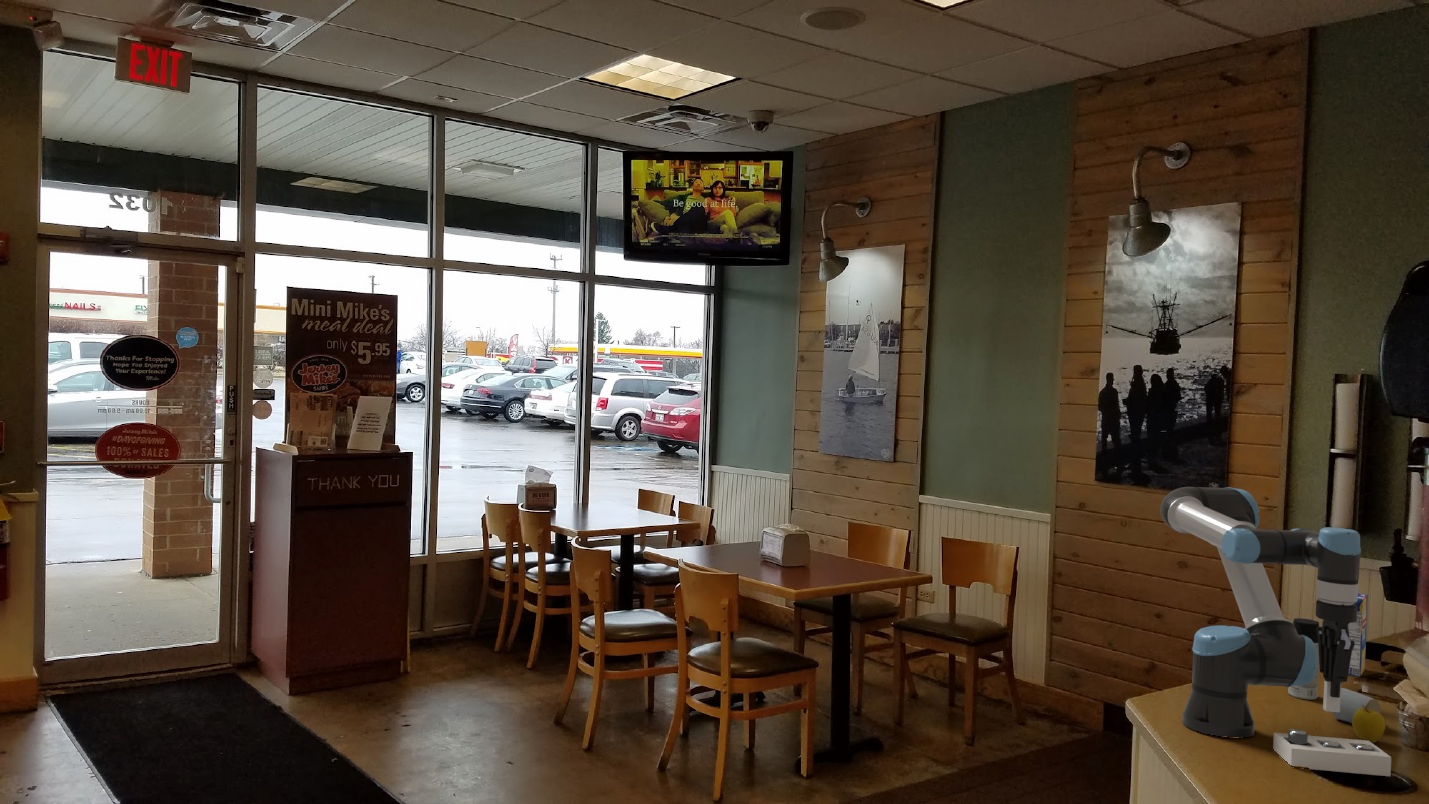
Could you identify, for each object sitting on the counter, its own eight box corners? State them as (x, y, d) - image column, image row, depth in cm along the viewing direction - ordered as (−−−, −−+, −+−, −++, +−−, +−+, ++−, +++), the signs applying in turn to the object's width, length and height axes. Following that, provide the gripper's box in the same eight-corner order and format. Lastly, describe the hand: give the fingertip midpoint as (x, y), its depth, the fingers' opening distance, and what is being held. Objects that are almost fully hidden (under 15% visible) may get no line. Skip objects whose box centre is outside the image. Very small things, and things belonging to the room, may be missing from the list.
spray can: (1318, 695, 262) (1321, 620, 262) (1317, 702, 256) (1320, 625, 256) (1288, 691, 266) (1291, 616, 265) (1287, 697, 260) (1290, 621, 260)
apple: (1348, 734, 232) (1349, 700, 231) (1380, 739, 229) (1382, 704, 229) (1354, 743, 226) (1355, 708, 226) (1387, 748, 223) (1389, 712, 223)
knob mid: (1324, 764, 211) (1325, 744, 211) (1317, 757, 214) (1318, 738, 214) (1343, 765, 210) (1343, 746, 210) (1335, 759, 214) (1336, 740, 214)
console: (1291, 767, 209) (1291, 748, 209) (1273, 750, 219) (1273, 732, 219) (1390, 776, 206) (1391, 757, 206) (1367, 759, 216) (1368, 740, 216)
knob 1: (1291, 752, 212) (1292, 732, 212) (1285, 746, 216) (1285, 727, 216) (1309, 753, 211) (1310, 734, 211) (1303, 747, 215) (1303, 728, 215)
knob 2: (1358, 767, 210) (1358, 747, 210) (1350, 760, 213) (1351, 741, 213) (1376, 768, 209) (1377, 749, 209) (1368, 762, 213) (1369, 743, 213)
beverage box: (1331, 672, 286) (1334, 596, 286) (1337, 664, 295) (1340, 591, 294) (1359, 677, 282) (1362, 600, 282) (1364, 669, 290) (1367, 594, 290)
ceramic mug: (1366, 731, 234) (1367, 698, 234) (1329, 720, 241) (1331, 689, 241) (1388, 725, 240) (1390, 693, 240) (1352, 715, 247) (1353, 684, 247)
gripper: (1370, 609, 205) (1364, 722, 205) (1342, 596, 218) (1337, 702, 218) (1330, 606, 206) (1325, 719, 207) (1305, 593, 219) (1300, 699, 220)
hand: (1331, 710), depth 213 cm, fingers closed
